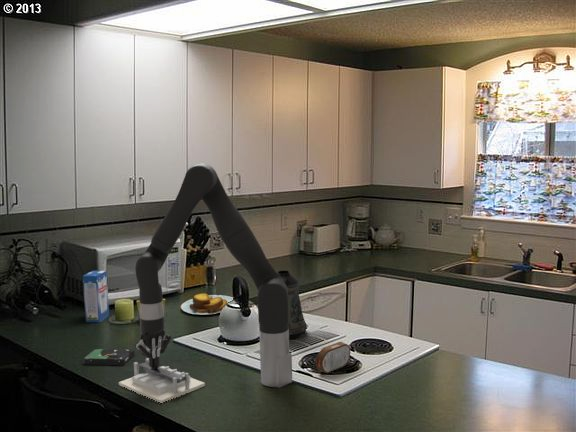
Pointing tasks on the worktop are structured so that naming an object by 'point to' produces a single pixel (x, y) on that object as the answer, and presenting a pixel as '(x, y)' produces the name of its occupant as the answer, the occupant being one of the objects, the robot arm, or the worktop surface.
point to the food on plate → (205, 304)
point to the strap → (162, 372)
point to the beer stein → (293, 307)
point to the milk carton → (96, 296)
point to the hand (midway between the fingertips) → (154, 367)
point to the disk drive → (109, 356)
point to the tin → (333, 357)
